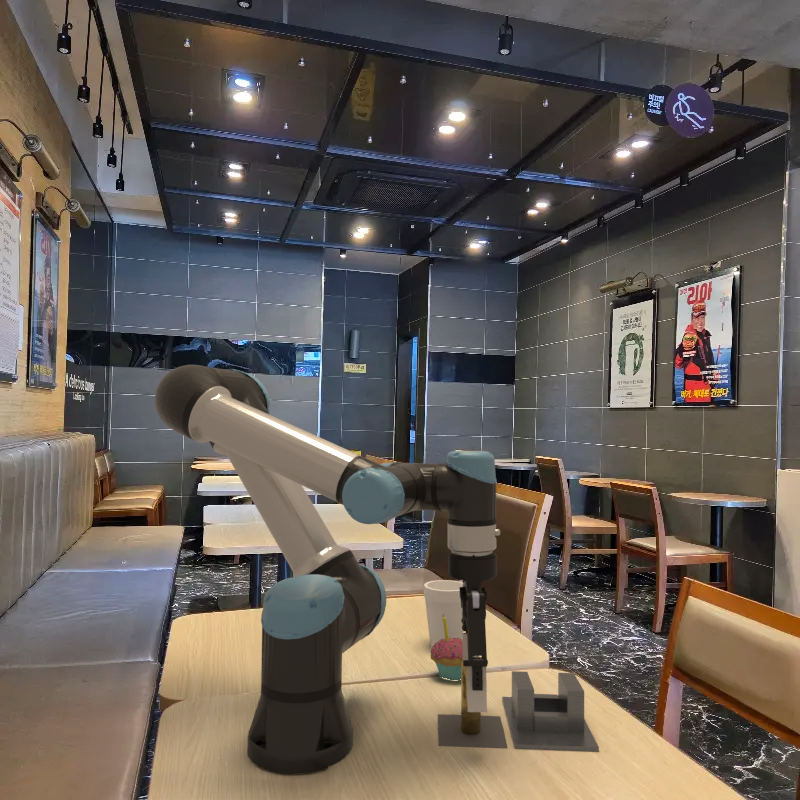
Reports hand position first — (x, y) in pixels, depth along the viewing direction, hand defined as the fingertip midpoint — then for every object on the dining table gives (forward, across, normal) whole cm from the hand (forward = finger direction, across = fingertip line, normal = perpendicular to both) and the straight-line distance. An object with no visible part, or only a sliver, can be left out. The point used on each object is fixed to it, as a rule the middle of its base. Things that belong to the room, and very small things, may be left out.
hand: (473, 691), depth 96 cm
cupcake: (+6, +21, +2) cm, 22 cm away
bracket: (+7, +3, -12) cm, 14 cm away
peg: (+6, 0, 0) cm, 6 cm away
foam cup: (+6, +37, +4) cm, 38 cm away
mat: (+6, 0, 0) cm, 6 cm away
